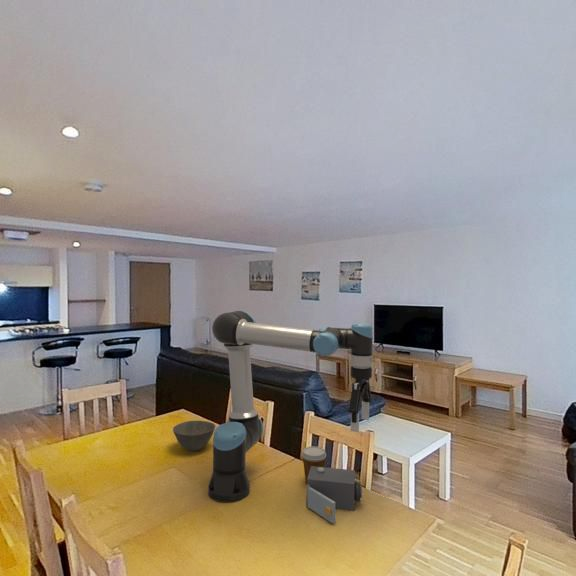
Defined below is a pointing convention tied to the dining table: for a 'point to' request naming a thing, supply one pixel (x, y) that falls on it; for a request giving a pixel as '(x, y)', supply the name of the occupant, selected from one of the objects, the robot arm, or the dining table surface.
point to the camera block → (336, 485)
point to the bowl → (194, 434)
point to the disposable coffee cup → (313, 458)
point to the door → (320, 504)
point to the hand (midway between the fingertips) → (360, 425)
